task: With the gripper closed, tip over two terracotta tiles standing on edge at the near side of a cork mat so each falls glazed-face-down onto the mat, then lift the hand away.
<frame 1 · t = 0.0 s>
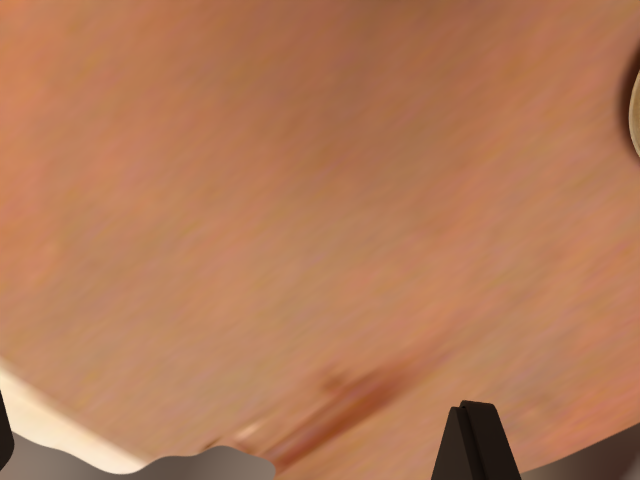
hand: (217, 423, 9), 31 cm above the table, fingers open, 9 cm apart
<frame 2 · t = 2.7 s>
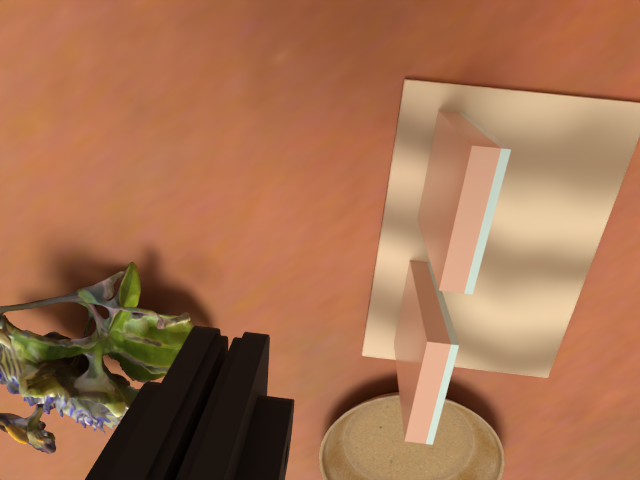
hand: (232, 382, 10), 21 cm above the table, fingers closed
tile B: (412, 304, 33), point 1 cm above the table, touching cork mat
passion flower: (121, 309, 36), on the table
plant saucer: (406, 437, 40), on the table
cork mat: (483, 244, 31), on the table
tile A: (440, 169, 29), point 1 cm above the table, touching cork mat
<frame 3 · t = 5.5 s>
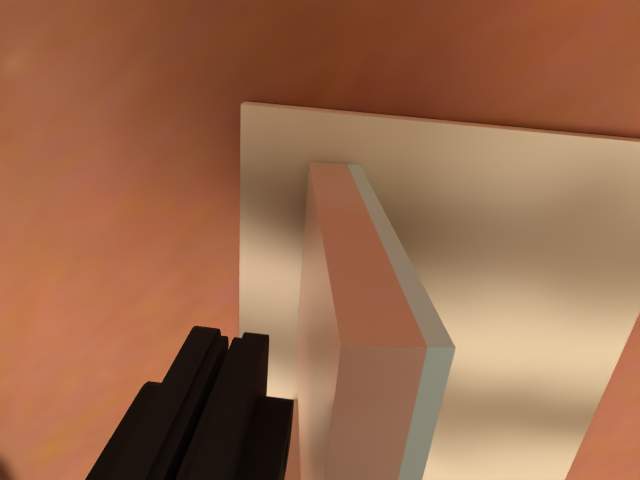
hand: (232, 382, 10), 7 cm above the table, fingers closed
tile B: (305, 461, 20), point 1 cm above the table, touching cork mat
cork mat: (414, 373, 18), on the table
tile A: (325, 261, 16), point 1 cm above the table, tilted 8°, touching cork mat
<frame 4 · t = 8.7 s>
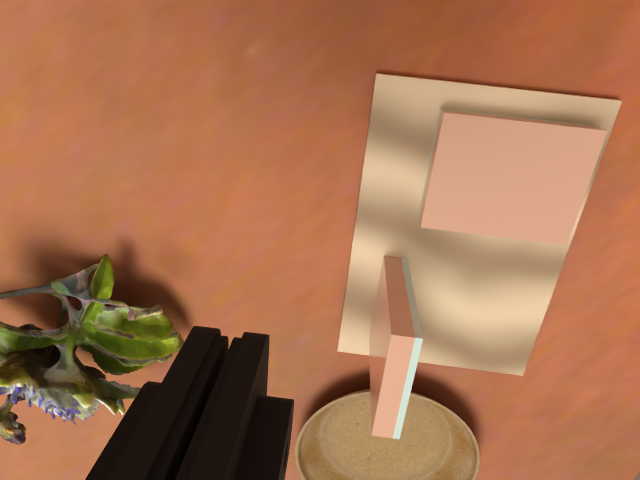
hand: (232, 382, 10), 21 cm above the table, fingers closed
tile B: (387, 300, 33), point 1 cm above the table, touching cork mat
passion flower: (98, 302, 36), on the table
plant saucer: (384, 434, 40), on the table
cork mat: (457, 240, 31), on the table
tile A: (429, 169, 28), point 1 cm above the table, tilted 90°, touching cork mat
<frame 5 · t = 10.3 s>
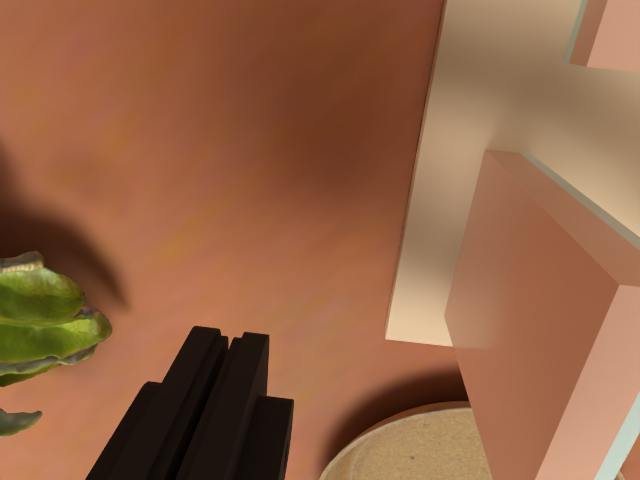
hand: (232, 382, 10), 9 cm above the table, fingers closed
tile B: (483, 242, 17), point 1 cm above the table, touching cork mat
plant saucer: (452, 472, 24), on the table
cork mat: (631, 116, 16), on the table
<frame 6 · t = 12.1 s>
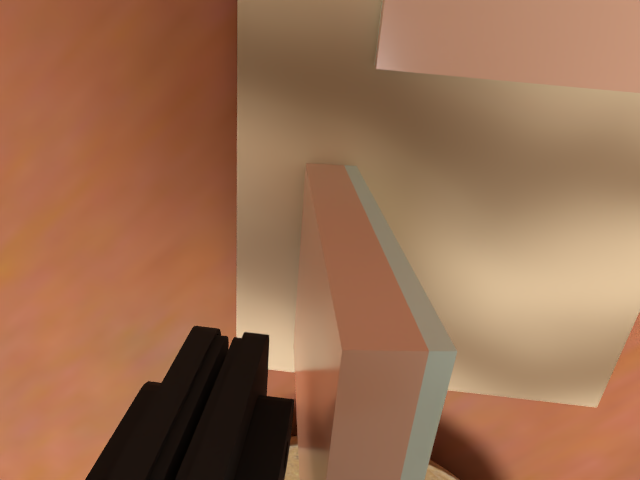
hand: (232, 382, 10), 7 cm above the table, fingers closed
tile B: (322, 263, 16), point 1 cm above the table, tilted 9°, touching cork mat
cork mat: (465, 123, 14), on the table
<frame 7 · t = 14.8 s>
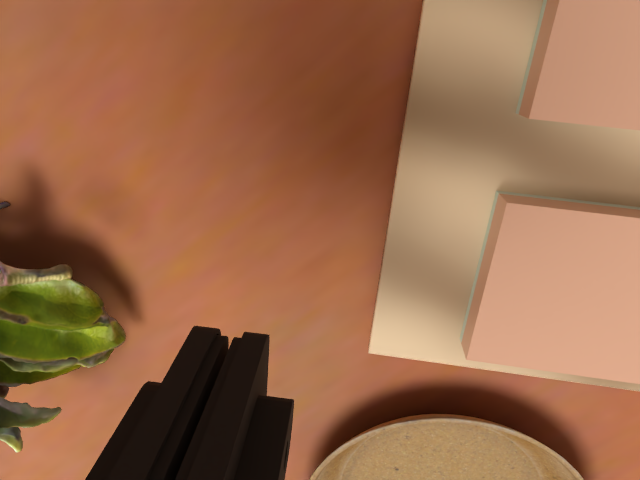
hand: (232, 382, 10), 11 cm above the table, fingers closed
tile B: (480, 277, 19), point 1 cm above the table, tilted 90°, touching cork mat
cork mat: (580, 158, 18), on the table
tile A: (549, 6, 15), point 1 cm above the table, tilted 90°, touching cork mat
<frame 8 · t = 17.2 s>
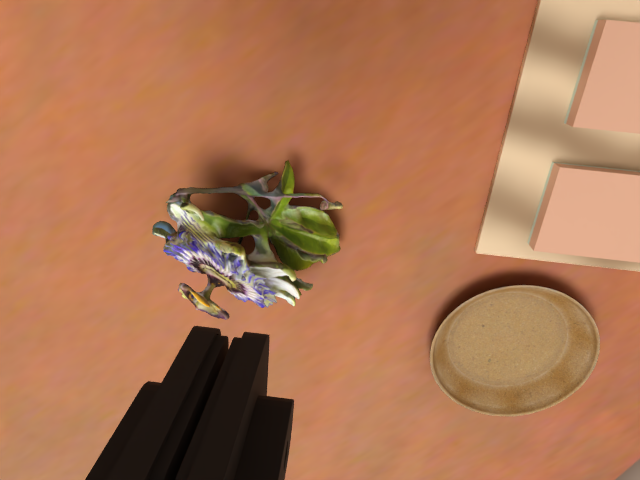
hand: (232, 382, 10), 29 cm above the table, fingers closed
tile B: (542, 207, 37), point 1 cm above the table, tilted 90°, touching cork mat
passion flower: (259, 214, 41), on the table
plant saucer: (504, 337, 44), on the table
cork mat: (594, 145, 36), on the table
tile A: (583, 74, 32), point 1 cm above the table, tilted 90°, touching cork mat
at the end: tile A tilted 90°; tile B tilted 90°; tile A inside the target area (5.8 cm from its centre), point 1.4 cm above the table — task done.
